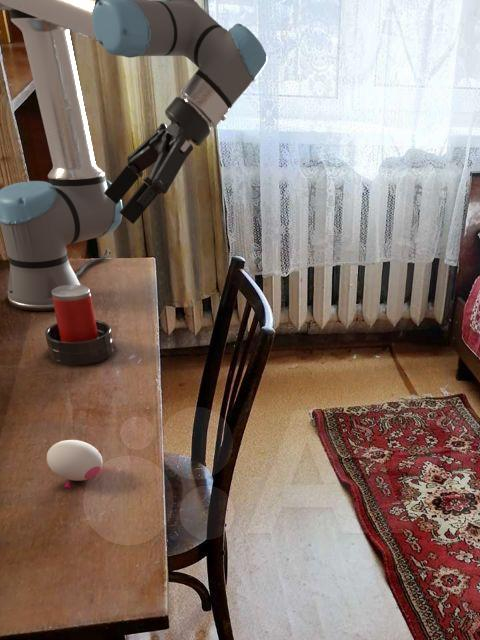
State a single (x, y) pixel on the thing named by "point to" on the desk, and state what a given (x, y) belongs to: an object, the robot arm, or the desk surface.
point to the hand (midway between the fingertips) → (117, 208)
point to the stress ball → (74, 460)
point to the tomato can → (74, 313)
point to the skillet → (80, 347)
